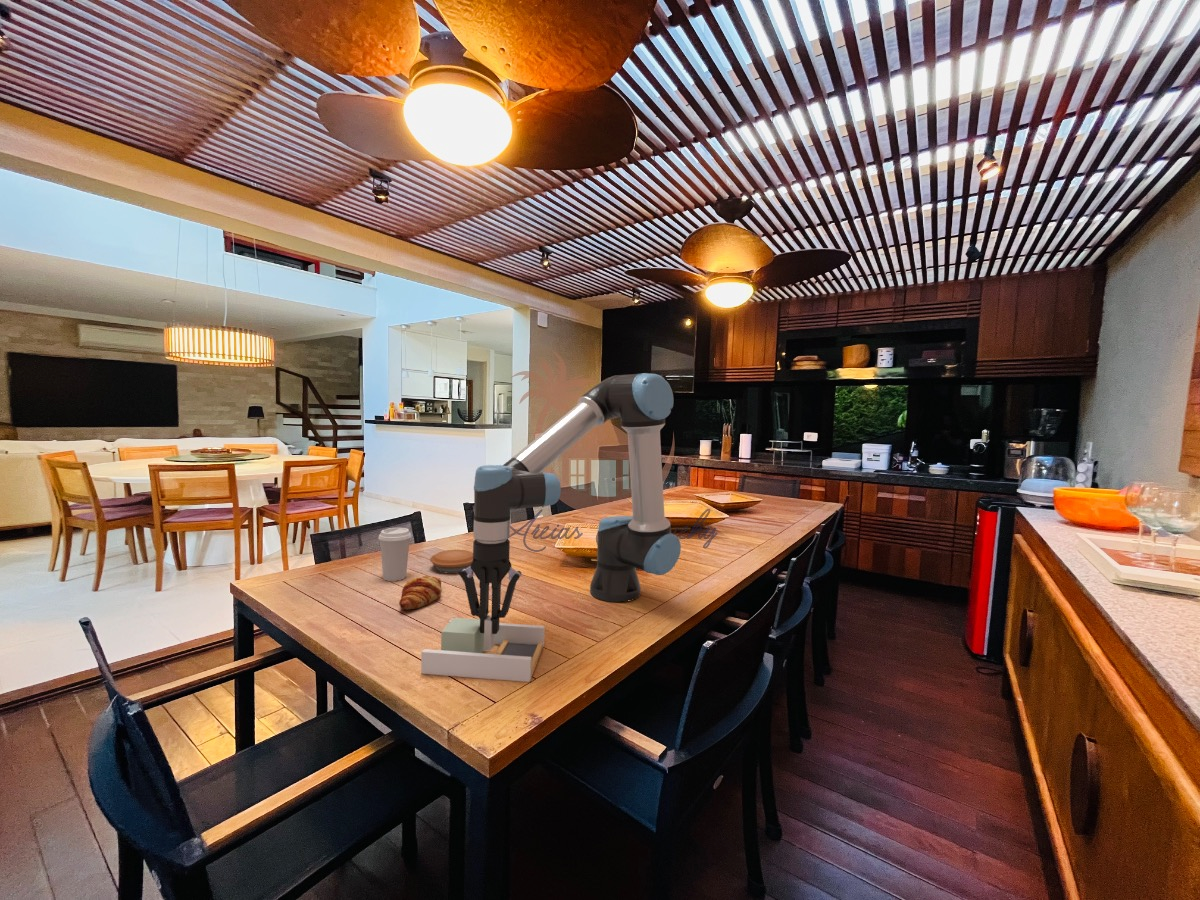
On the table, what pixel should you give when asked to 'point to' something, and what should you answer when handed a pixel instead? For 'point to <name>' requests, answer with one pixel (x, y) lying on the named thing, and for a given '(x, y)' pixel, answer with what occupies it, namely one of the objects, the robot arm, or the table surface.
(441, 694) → the table surface
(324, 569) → the table surface
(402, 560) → the coffee cup
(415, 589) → the croissant
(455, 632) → the block
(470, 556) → the pie
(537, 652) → the drawer
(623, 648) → the table surface
